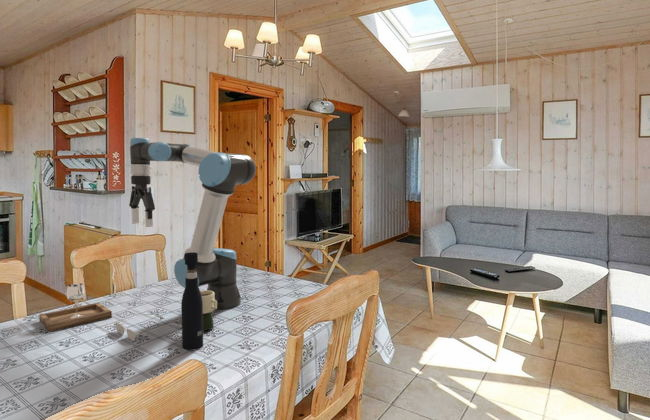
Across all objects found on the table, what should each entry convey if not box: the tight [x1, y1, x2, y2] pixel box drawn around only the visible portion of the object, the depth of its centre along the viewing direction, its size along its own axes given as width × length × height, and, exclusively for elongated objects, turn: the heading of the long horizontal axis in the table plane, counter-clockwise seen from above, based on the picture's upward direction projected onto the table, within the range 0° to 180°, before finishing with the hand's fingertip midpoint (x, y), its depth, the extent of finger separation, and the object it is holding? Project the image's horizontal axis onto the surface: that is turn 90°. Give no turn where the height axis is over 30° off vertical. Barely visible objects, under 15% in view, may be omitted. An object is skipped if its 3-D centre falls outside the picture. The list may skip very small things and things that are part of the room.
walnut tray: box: [39, 302, 113, 333], centre depth 156 cm, size 14×20×2 cm
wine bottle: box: [180, 252, 204, 351], centre depth 133 cm, size 6×6×30 cm
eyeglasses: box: [114, 313, 182, 342], centre depth 148 cm, size 15×18×4 cm
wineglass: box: [66, 282, 86, 319], centre depth 156 cm, size 6×6×12 cm
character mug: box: [200, 290, 218, 332], centre depth 148 cm, size 11×7×13 cm, turn 66°
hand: (142, 225), depth 180 cm, fingers open, 13 cm apart
